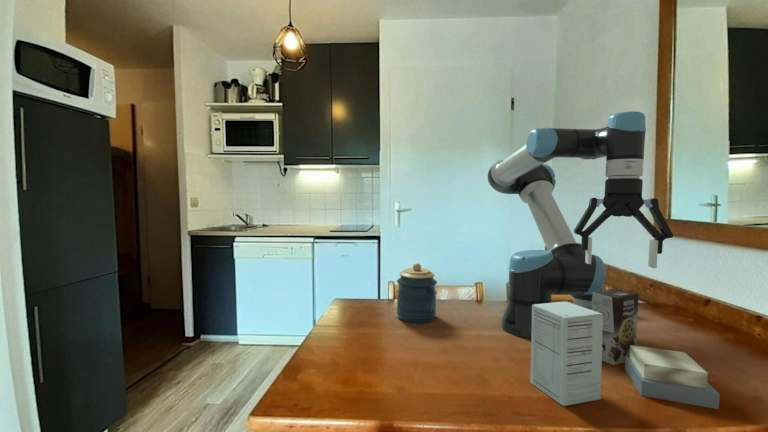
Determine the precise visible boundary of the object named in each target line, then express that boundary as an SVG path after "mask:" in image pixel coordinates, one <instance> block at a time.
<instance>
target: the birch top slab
mask: <svg viewBox="0 0 768 432" xmlns="http://www.w3.org/2000/svg"><path fill="white" fill-rule="evenodd" d="M629 358H630V359H631V361H632V362H633V364H634V365H635V367H636V368H637V369H638V371H639V372H640V374H641V375H642V377H643V378H644V379H650V380H657V381H663V382H669V383H675V384H682V385H688V386H694V387H700V388H707V382H708V375H709V373H708V371H706V370H705V369H704V368H703V367H702V366H700V365H699V363H697V361H696V360H694V359H693V358H692V357H690V355H688V353H686V352H685V351H679V350H678V351H677V350H670V349H662V348H655V347H647V346H640V345H636V346H634V345H630V356H629Z"/></svg>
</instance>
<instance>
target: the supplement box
mask: <svg viewBox="0 0 768 432" xmlns="http://www.w3.org/2000/svg"><path fill="white" fill-rule="evenodd" d="M602 331H603V314H602V313H599V312H596V311H593V310H592V309H587V308H584V307H581V306H578V305H576V304H575V303H573V302H572V303H571V302H569V301H556V302H551V303H543V304H534V305H532V333H531V338H530V340H531V341H530V342H531V345H530V346H531V347H530V376H529V377H530V378H529V379H530V380H529V381H530V384H531V385H533V386H534V387H536V388H537V389H538V390H540V391H541V392H542V393H544V394H546V395H547V396H549V397H550V398H551V399H553V400H554V401H556V402H557V403H558V404H559V405H560V406H562V407H567V406H572V405H577V404H583V403H589V402H592V401H593V402H594V401H600V400H601V399H602V370H603V369H602V366H603V365H602V363H603V361H602Z"/></svg>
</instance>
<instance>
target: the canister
mask: <svg viewBox="0 0 768 432" xmlns="http://www.w3.org/2000/svg"><path fill="white" fill-rule="evenodd" d="M399 276H400V277H399V278H398V279H397V280H396V283H397V284H398V288H397V290H396V293H397V294H396V295H397V296H396V317H397V318H398V319H399V320H400V321H404V322H406V323H407V322H408V323H417V324H423V323H429V322H432V321H434V320H436V318H437V317H436V316H437V293H438V292H437V290H436V285H437V284H438V282H437V280H436V279H434V277H435V273H434V272H432V271H431V270H430V269H428V268H423V267H422V265H421V264H420V263H419V262H418V263H417V262H416V263H414V264H413V266H412V267H410V268H405V269H403V271H401V272H399Z"/></svg>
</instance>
